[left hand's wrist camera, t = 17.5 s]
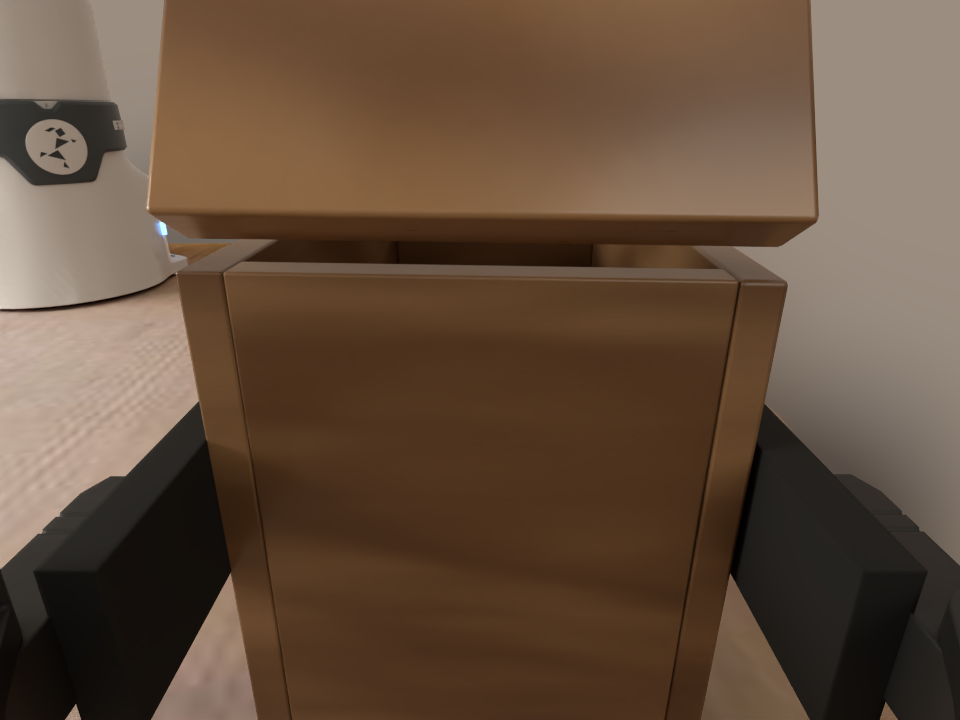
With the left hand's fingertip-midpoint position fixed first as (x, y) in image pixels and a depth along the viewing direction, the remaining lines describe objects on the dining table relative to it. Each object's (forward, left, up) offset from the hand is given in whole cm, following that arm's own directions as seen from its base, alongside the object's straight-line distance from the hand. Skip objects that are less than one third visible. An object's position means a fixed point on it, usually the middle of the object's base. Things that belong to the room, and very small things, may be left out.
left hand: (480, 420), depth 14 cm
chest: (+4, 0, -7) cm, 8 cm away
